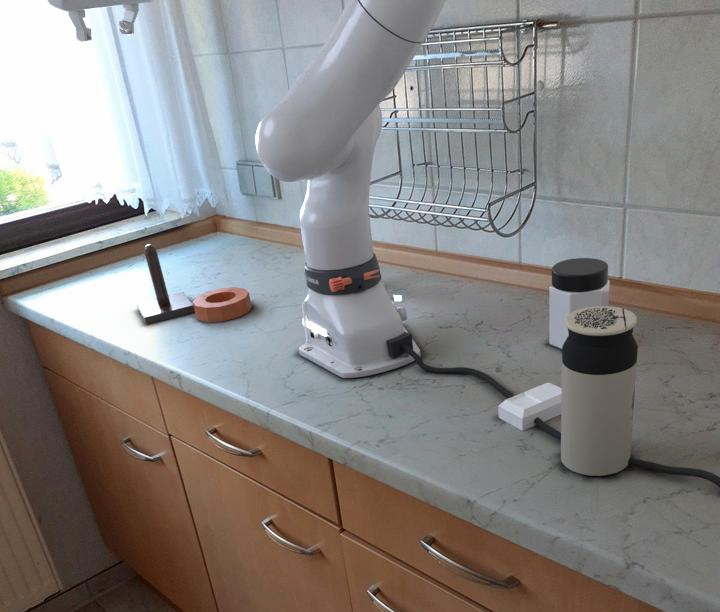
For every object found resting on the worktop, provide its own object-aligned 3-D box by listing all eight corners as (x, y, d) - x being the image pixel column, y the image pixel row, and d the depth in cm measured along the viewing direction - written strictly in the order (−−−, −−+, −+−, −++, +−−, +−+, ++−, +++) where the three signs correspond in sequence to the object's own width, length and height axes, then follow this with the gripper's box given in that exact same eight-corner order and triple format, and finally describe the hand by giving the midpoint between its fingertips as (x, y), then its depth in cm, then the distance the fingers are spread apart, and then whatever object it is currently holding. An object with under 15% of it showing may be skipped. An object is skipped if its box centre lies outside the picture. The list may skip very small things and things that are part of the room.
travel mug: (555, 475, 93) (557, 331, 83) (566, 441, 99) (568, 304, 90) (626, 481, 90) (636, 333, 81) (632, 446, 96) (642, 305, 87)
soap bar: (575, 408, 106) (575, 390, 105) (522, 430, 103) (522, 412, 101) (550, 396, 110) (550, 379, 108) (498, 417, 106) (498, 400, 105)
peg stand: (195, 312, 159) (178, 244, 151) (146, 324, 156) (126, 256, 149) (185, 298, 167) (168, 233, 159) (138, 310, 164) (119, 244, 157)
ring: (257, 312, 154) (254, 297, 152) (203, 326, 151) (200, 311, 149) (242, 297, 162) (239, 283, 161) (191, 310, 160) (188, 296, 158)
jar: (600, 328, 127) (603, 254, 121) (614, 348, 120) (617, 271, 114) (544, 334, 128) (544, 261, 121) (554, 355, 121) (554, 278, 114)
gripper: (62, -59, 110) (71, 50, 119) (162, -63, 125) (163, 35, 134) (30, -69, 112) (41, 39, 121) (131, -71, 126) (135, 25, 135)
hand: (106, 37), depth 127 cm, fingers open, 8 cm apart
